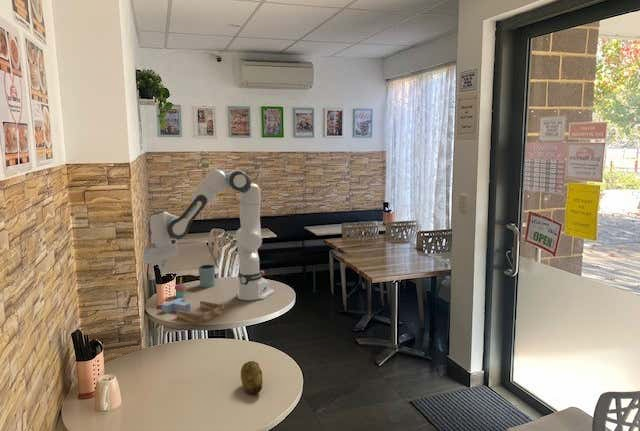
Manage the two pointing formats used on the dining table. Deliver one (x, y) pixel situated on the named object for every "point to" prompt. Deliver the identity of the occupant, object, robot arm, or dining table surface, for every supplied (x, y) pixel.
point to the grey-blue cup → (207, 275)
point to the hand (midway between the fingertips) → (161, 268)
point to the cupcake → (180, 289)
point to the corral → (214, 311)
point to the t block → (176, 306)
